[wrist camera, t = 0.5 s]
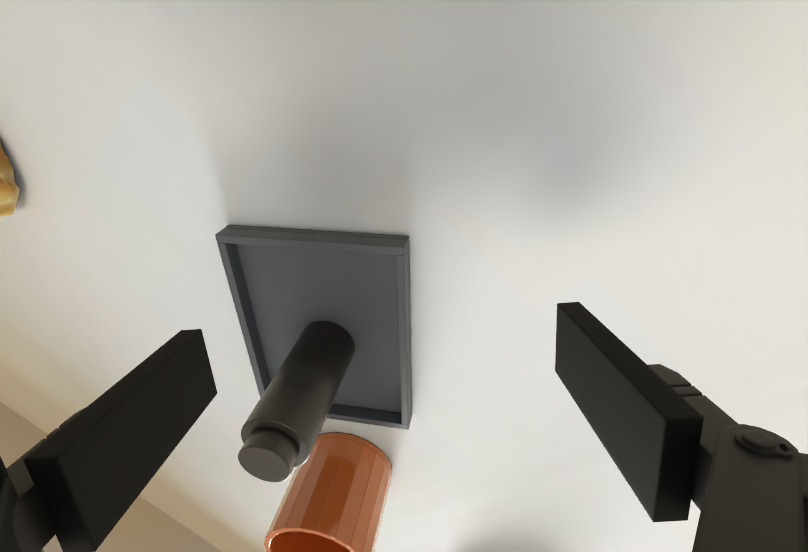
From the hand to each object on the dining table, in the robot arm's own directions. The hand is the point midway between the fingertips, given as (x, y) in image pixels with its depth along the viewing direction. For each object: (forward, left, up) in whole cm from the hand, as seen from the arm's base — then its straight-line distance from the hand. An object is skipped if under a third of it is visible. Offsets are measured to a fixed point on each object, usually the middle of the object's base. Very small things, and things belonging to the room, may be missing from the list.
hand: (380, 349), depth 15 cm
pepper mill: (+11, -8, -13) cm, 19 cm away
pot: (+27, -8, -13) cm, 31 cm away
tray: (+10, -8, -13) cm, 19 cm away
